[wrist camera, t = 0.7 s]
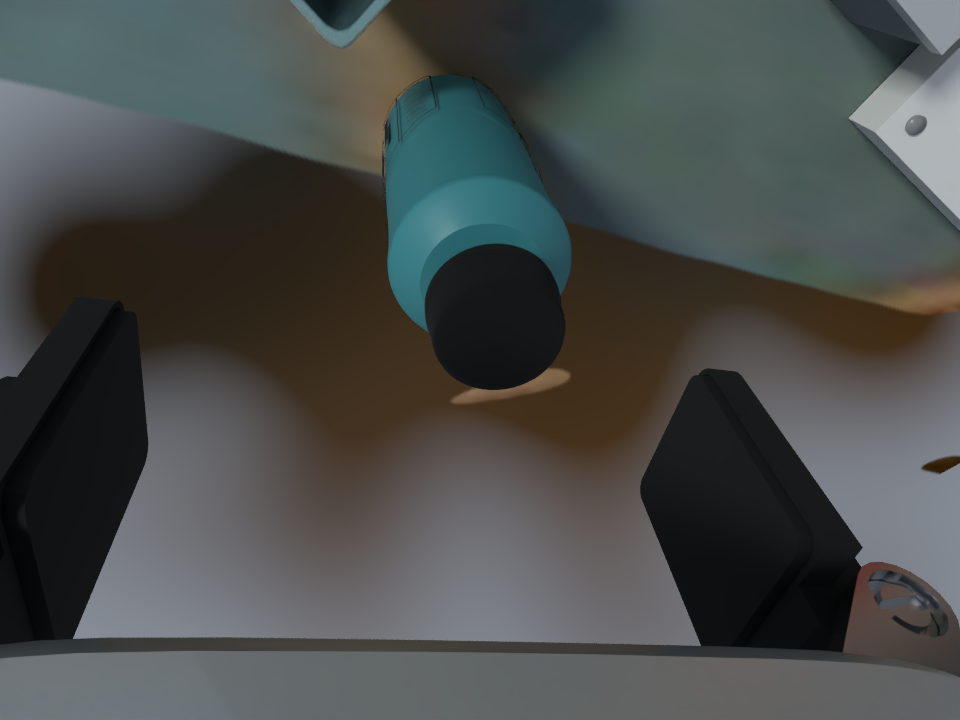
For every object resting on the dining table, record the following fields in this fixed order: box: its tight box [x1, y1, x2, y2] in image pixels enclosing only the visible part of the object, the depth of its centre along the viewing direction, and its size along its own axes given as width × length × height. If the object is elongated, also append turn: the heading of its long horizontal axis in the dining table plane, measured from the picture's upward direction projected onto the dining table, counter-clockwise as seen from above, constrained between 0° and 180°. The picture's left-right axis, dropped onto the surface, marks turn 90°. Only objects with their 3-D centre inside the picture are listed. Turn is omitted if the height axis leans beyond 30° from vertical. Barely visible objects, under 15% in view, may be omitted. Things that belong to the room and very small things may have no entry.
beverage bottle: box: [382, 75, 572, 390], centre depth 27 cm, size 6×7×20 cm
